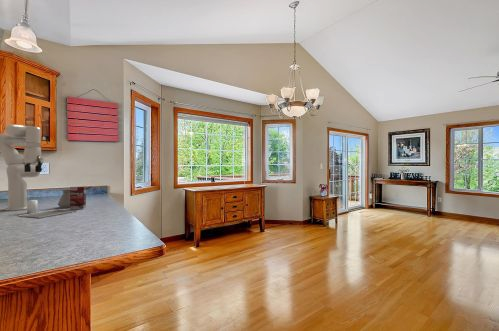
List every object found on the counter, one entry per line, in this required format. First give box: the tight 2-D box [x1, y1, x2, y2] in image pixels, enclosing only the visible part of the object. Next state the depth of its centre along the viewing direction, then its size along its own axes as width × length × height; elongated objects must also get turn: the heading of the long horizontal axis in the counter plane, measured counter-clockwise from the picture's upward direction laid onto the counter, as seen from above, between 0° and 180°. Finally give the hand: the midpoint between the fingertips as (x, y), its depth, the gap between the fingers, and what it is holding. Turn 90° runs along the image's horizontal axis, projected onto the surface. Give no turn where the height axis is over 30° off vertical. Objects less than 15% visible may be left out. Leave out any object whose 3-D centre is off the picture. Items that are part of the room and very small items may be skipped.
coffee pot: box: [57, 186, 93, 209], centre depth 184 cm, size 21×12×15 cm, turn 123°
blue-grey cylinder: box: [26, 199, 39, 214], centre depth 159 cm, size 5×5×8 cm
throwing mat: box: [17, 209, 77, 219], centre depth 155 cm, size 18×22×1 cm
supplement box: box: [69, 186, 87, 211], centre depth 174 cm, size 9×5×16 cm, turn 105°
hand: (32, 171), depth 159 cm, fingers open, 9 cm apart
